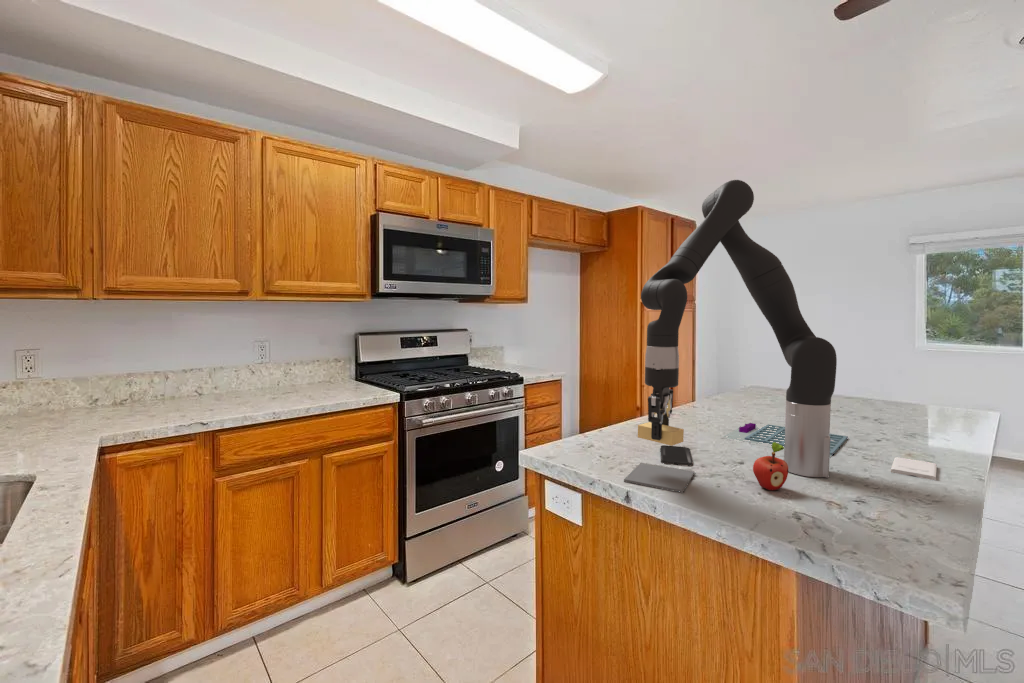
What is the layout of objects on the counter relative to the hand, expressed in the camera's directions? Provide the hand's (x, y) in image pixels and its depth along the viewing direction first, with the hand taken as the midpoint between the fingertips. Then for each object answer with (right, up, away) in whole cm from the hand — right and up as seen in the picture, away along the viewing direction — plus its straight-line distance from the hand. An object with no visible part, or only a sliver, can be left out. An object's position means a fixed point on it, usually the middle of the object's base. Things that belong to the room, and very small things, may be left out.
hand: (660, 435), depth 109 cm
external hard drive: (+65, -10, +6) cm, 66 cm away
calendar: (+50, -9, +35) cm, 61 cm away
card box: (0, -1, 0) cm, 1 cm away
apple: (+22, -11, -6) cm, 26 cm away
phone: (+10, -10, +17) cm, 22 cm away
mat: (0, -10, 0) cm, 10 cm away
